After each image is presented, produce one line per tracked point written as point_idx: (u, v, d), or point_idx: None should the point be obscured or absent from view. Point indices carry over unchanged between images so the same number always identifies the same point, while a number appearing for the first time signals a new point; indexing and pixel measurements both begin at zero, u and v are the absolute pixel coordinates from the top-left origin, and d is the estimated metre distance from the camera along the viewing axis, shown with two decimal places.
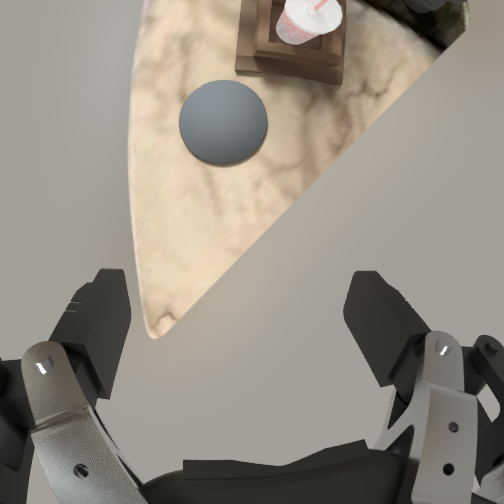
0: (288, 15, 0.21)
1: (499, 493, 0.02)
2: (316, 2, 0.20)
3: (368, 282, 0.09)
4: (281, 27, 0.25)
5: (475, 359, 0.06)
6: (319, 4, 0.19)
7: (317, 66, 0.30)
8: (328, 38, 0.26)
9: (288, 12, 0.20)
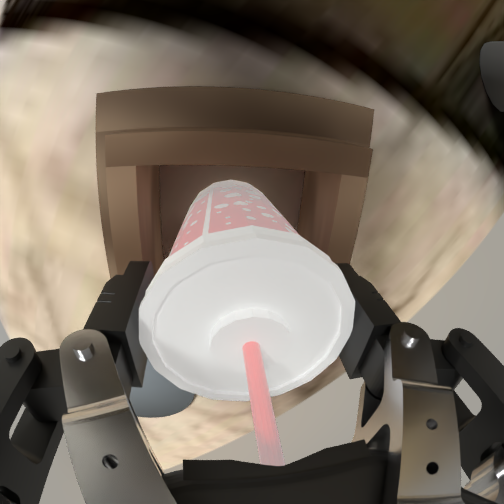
0: None
1: (492, 487, 0.02)
2: (255, 325, 0.07)
3: None
4: None
5: (449, 355, 0.06)
6: None
7: None
8: None
9: (156, 367, 0.08)
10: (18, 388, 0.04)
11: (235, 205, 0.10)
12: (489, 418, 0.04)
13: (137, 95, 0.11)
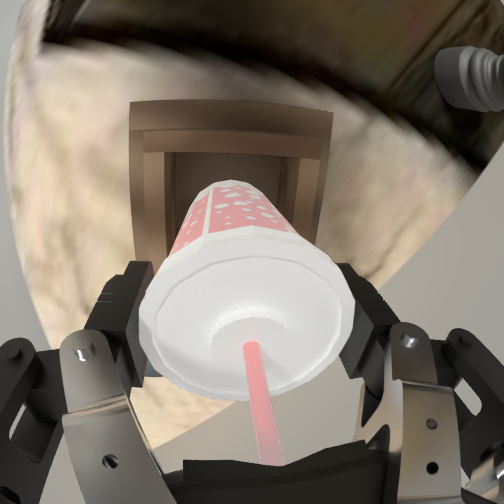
0: None
1: (491, 488, 0.02)
2: (254, 325, 0.07)
3: None
4: None
5: (449, 355, 0.06)
6: None
7: None
8: None
9: (156, 366, 0.08)
10: (18, 388, 0.04)
11: (235, 205, 0.10)
12: (489, 418, 0.04)
13: (160, 105, 0.16)
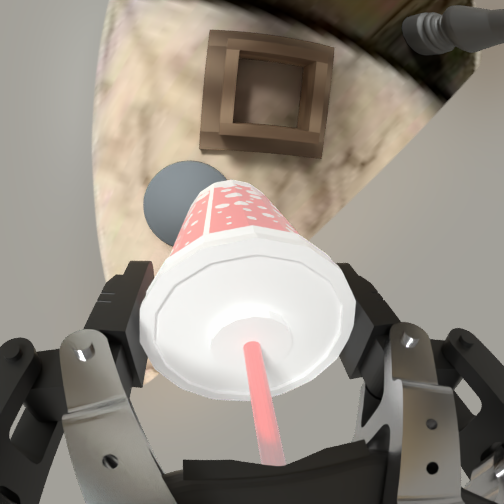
0: None
1: (491, 488, 0.02)
2: (255, 325, 0.07)
3: None
4: None
5: (449, 355, 0.06)
6: None
7: None
8: (307, 107, 0.26)
9: (156, 366, 0.08)
10: (18, 388, 0.04)
11: (236, 205, 0.10)
12: (489, 418, 0.04)
13: (229, 33, 0.23)
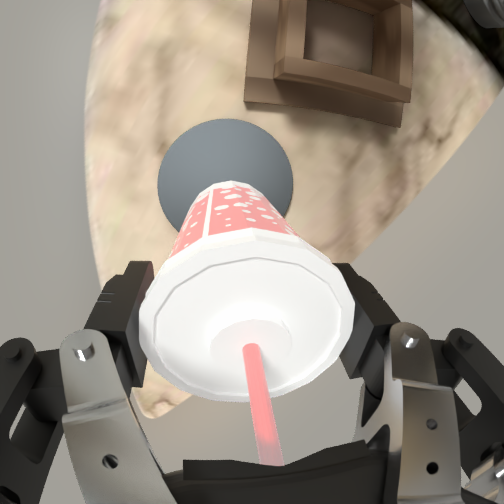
0: None
1: (491, 488, 0.02)
2: (254, 327, 0.07)
3: None
4: None
5: (449, 355, 0.06)
6: None
7: (369, 98, 0.20)
8: (390, 57, 0.16)
9: (156, 368, 0.08)
10: (18, 388, 0.04)
11: (235, 206, 0.10)
12: (489, 418, 0.04)
13: None
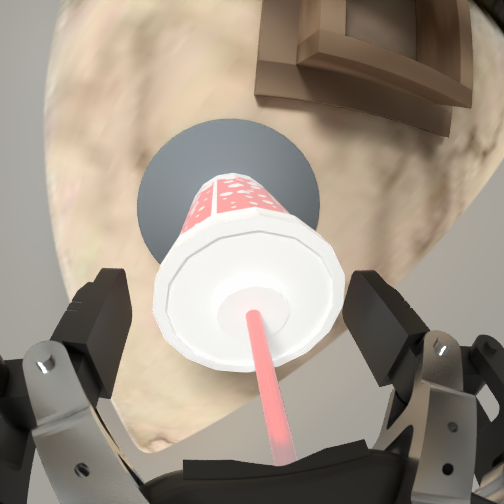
0: None
1: (498, 493, 0.02)
2: (257, 294, 0.08)
3: (367, 282, 0.09)
4: None
5: (474, 359, 0.06)
6: None
7: (416, 98, 0.14)
8: (444, 48, 0.10)
9: (166, 336, 0.09)
10: None
11: (239, 193, 0.11)
12: None
13: None
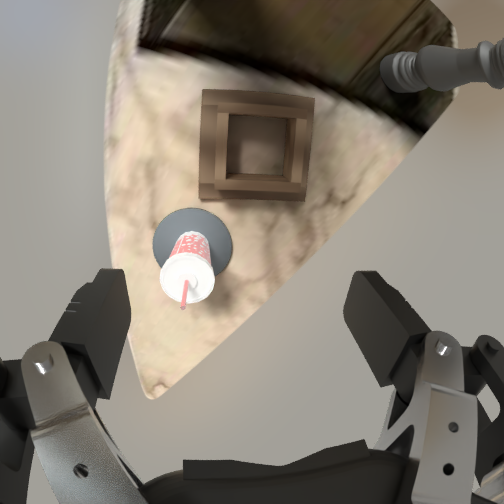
0: None
1: (499, 493, 0.02)
2: (186, 275, 0.30)
3: (368, 282, 0.09)
4: None
5: (475, 359, 0.06)
6: None
7: None
8: (289, 159, 0.33)
9: (163, 288, 0.31)
10: None
11: (187, 244, 0.33)
12: None
13: (220, 92, 0.30)
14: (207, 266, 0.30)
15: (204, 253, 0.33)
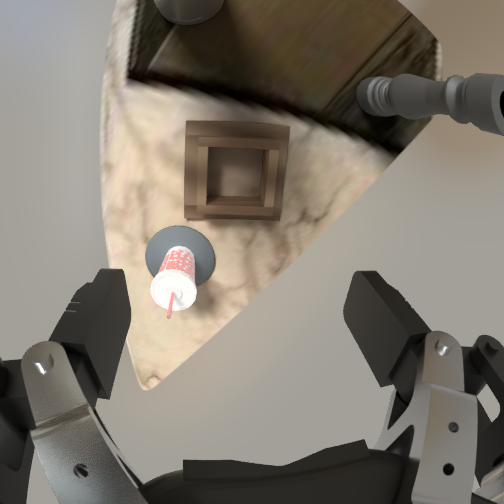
0: None
1: (499, 493, 0.02)
2: (172, 288, 0.35)
3: (368, 282, 0.09)
4: None
5: (475, 359, 0.06)
6: None
7: None
8: (264, 185, 0.37)
9: (153, 298, 0.36)
10: None
11: (173, 260, 0.38)
12: None
13: (202, 123, 0.35)
14: (190, 281, 0.35)
15: (188, 268, 0.38)
